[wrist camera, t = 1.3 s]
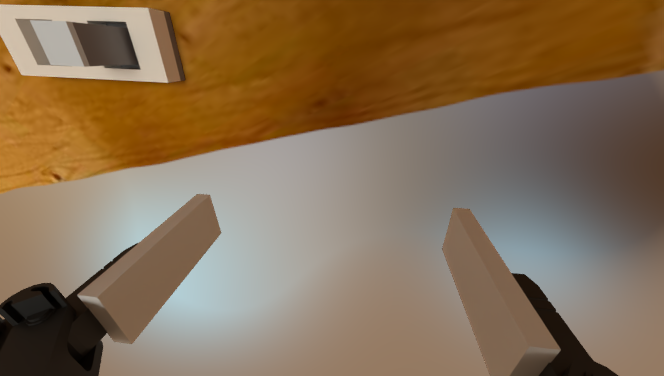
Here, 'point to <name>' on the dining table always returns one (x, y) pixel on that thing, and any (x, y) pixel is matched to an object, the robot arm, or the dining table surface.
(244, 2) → the dining table surface
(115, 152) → the dining table surface
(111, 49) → the grey square peg
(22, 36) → the strip
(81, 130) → the dining table surface
